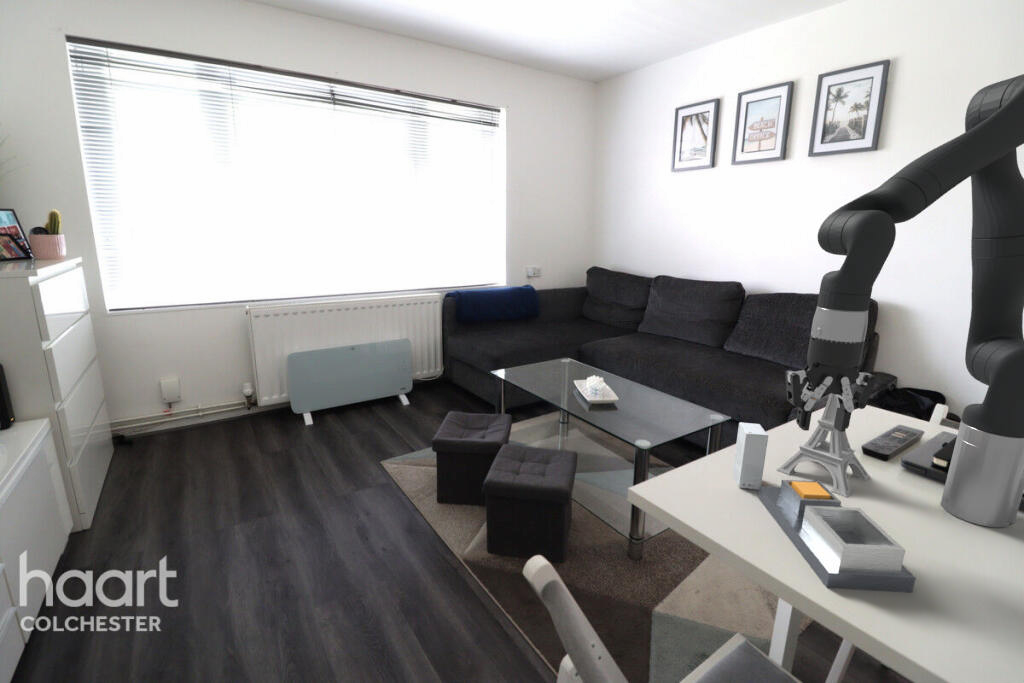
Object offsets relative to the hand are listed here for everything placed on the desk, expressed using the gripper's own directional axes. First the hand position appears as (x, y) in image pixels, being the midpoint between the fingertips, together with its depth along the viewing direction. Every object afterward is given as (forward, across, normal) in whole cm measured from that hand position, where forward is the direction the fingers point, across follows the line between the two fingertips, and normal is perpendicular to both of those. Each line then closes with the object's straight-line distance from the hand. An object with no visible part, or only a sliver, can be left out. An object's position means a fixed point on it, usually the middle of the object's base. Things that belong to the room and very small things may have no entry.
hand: (821, 428), depth 84 cm
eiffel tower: (+18, -12, -17) cm, 27 cm away
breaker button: (+15, 0, 0) cm, 15 cm away
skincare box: (+18, +6, -12) cm, 22 cm away
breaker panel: (+17, 0, +6) cm, 18 cm away
